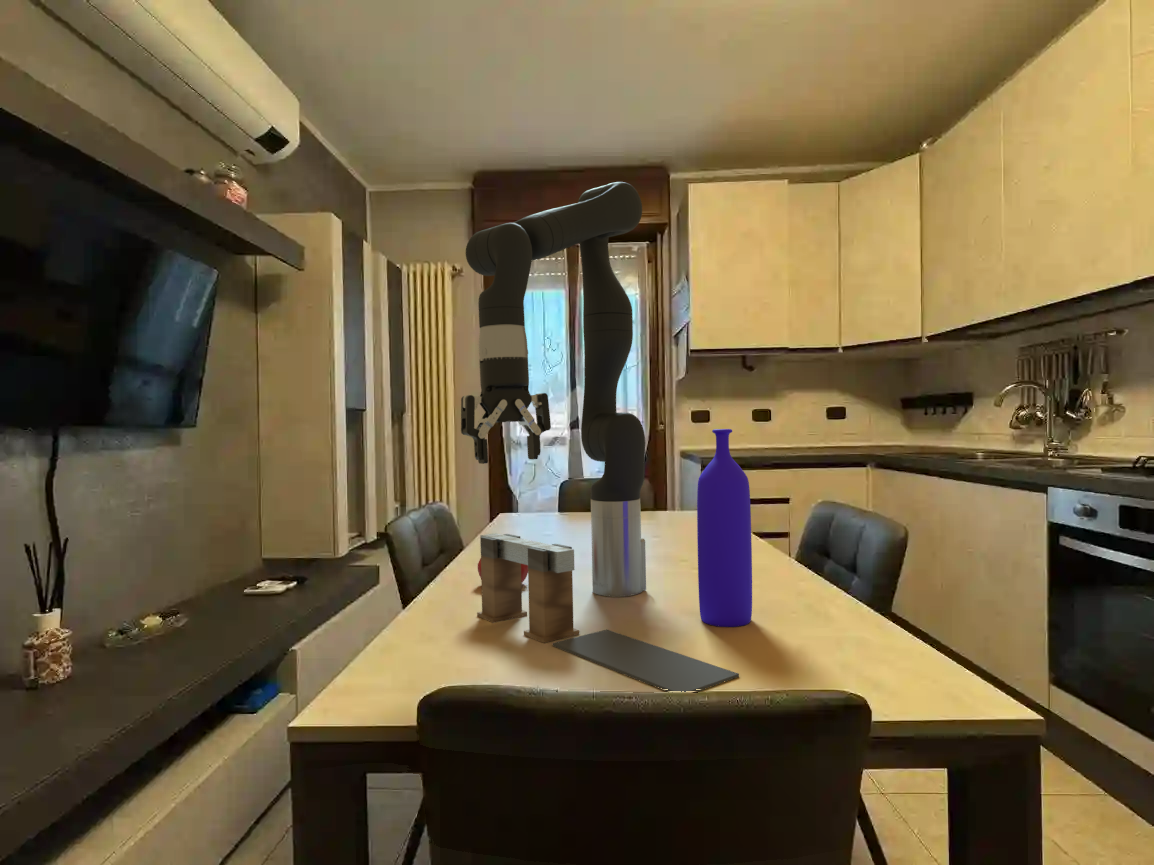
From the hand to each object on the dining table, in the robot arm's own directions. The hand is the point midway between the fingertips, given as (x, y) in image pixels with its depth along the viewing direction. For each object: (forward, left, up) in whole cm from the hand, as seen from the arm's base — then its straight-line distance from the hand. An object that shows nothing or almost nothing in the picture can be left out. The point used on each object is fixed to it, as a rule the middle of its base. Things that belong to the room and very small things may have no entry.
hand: (508, 461), depth 110 cm
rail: (-2, +1, -16) cm, 16 cm away
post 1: (-2, -6, -26) cm, 26 cm away
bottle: (-27, +20, -26) cm, 42 cm away
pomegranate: (-14, -25, -26) cm, 39 cm away
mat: (-4, +25, -26) cm, 36 cm away
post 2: (-2, +8, -26) cm, 27 cm away
